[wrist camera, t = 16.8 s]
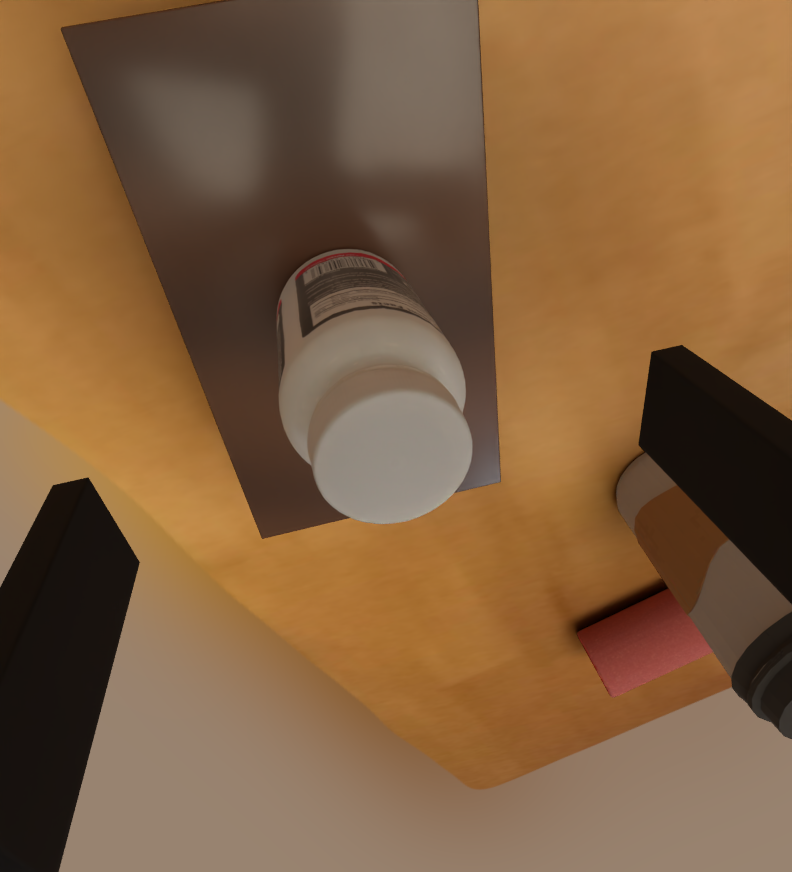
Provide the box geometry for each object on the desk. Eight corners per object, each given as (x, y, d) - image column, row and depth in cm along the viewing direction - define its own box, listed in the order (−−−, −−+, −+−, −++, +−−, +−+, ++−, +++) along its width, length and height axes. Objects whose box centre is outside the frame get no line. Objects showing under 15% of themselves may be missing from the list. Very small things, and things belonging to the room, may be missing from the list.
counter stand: (100, 36, 19) (59, 27, 15) (438, -20, 20) (476, -42, 16) (262, 482, 30) (261, 539, 27) (473, 433, 31) (501, 482, 27)
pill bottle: (372, 398, 24) (425, 567, 15) (252, 346, 21) (241, 511, 13) (440, 287, 21) (543, 416, 13) (316, 216, 19) (349, 319, 11)
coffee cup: (696, 520, 39) (894, 727, 27) (586, 536, 38) (740, 761, 25) (736, 419, 34) (996, 613, 22) (612, 433, 33) (815, 647, 21)
